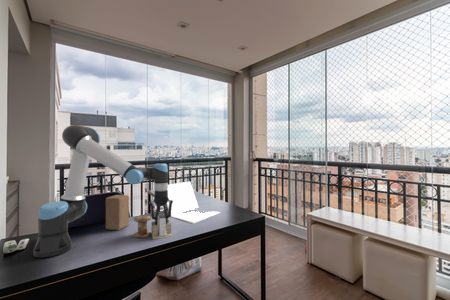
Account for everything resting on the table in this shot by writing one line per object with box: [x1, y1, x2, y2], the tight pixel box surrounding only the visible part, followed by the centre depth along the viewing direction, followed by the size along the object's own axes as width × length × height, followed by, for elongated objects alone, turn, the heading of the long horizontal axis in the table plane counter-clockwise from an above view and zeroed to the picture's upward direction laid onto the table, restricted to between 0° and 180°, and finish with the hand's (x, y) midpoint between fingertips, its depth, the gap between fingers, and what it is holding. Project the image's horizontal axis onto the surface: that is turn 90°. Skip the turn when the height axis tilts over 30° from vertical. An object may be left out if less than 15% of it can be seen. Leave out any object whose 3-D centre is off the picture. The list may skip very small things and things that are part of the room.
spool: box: [133, 215, 152, 239], centre depth 126 cm, size 9×9×10 cm
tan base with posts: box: [150, 219, 172, 240], centre depth 126 cm, size 10×10×7 cm
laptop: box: [166, 181, 221, 224], centre depth 166 cm, size 30×35×23 cm
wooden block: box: [105, 194, 130, 231], centre depth 138 cm, size 10×10×20 cm
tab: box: [158, 212, 165, 236], centre depth 126 cm, size 3×9×11 cm, turn 24°
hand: (161, 230), depth 126 cm, fingers closed on tab, 3 cm apart
